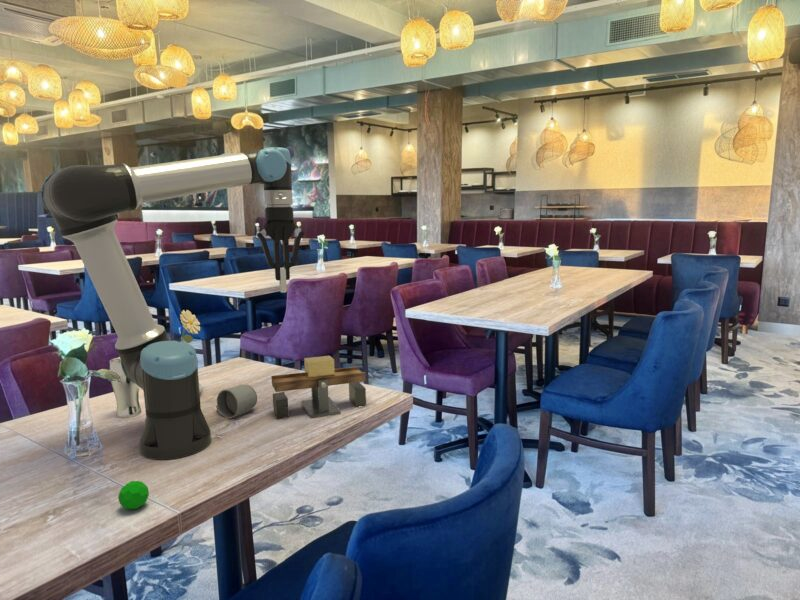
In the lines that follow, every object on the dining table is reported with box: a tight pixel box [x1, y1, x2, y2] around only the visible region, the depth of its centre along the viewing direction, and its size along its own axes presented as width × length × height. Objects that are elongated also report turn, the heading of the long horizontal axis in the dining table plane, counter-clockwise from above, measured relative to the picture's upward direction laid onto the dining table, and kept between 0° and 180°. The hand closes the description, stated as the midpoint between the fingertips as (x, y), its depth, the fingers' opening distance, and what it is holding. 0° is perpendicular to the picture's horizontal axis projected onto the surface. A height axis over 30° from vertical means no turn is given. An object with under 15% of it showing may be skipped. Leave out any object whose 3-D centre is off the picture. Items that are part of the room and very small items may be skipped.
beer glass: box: [109, 356, 142, 419], centre depth 148 cm, size 7×7×15 cm
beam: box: [270, 366, 367, 393], centre depth 149 cm, size 24×7×2 cm, turn 111°
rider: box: [303, 355, 335, 379], centre depth 149 cm, size 7×5×5 cm, turn 111°
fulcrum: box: [272, 379, 367, 420], centre depth 150 cm, size 24×12×9 cm, turn 111°
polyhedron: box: [117, 480, 150, 510], centre depth 102 cm, size 5×5×5 cm
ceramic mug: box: [215, 384, 258, 419], centre depth 148 cm, size 11×8×8 cm
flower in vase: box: [172, 309, 203, 393], centre depth 161 cm, size 13×11×25 cm
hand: (283, 291), depth 156 cm, fingers closed
